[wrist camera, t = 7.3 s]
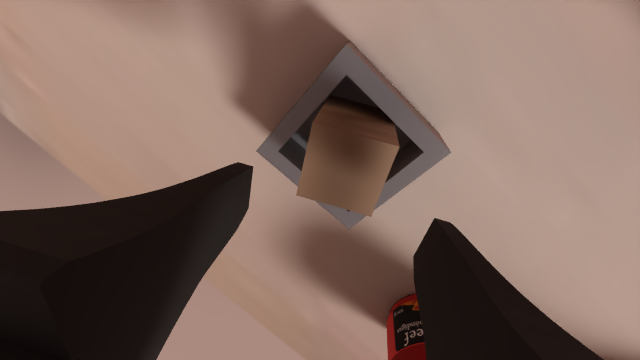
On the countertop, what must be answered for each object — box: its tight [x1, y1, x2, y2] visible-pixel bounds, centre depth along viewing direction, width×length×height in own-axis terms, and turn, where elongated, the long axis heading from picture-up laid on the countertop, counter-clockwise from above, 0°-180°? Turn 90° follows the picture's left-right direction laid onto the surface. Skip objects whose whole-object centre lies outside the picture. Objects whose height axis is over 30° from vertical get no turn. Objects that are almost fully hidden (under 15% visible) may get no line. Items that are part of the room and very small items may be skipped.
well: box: [257, 41, 451, 229], centre depth 18 cm, size 8×8×3 cm
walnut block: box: [296, 95, 400, 217], centre depth 16 cm, size 4×4×6 cm
